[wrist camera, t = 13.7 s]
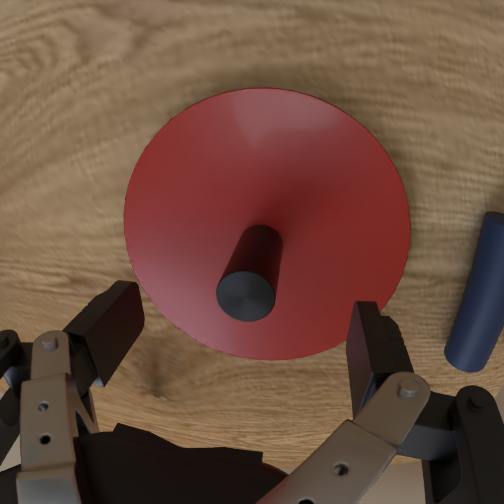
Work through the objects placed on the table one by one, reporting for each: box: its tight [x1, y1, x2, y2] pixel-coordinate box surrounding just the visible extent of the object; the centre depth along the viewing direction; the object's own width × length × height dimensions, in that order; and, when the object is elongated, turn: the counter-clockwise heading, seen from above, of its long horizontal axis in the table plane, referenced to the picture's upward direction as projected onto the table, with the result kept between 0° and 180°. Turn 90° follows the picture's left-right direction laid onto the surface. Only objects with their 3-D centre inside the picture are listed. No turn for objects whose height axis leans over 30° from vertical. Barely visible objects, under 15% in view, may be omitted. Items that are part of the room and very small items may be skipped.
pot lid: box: [124, 88, 411, 360], centre depth 16 cm, size 17×17×7 cm
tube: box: [444, 212, 504, 373], centre depth 16 cm, size 10×4×4 cm, turn 0°
